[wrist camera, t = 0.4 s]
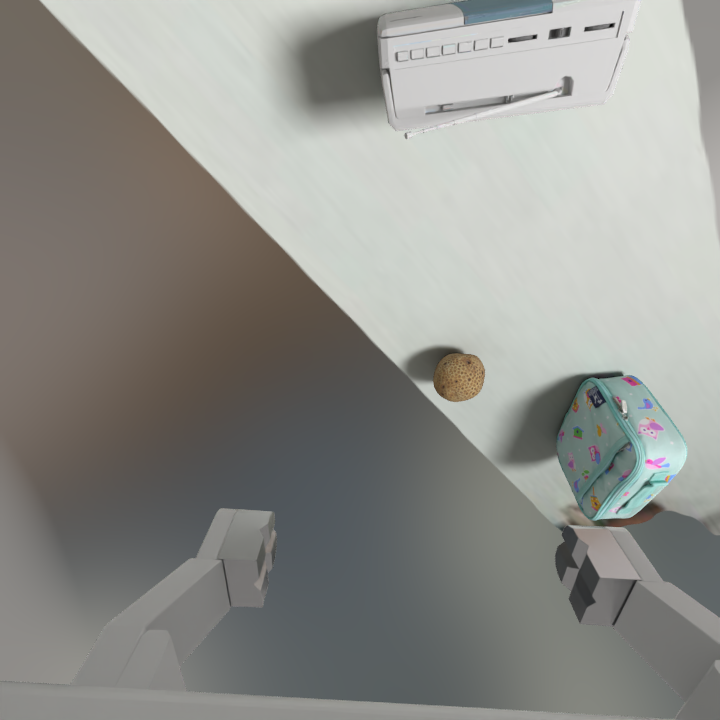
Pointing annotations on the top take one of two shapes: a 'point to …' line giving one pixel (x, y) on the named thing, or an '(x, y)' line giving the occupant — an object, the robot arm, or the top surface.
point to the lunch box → (618, 447)
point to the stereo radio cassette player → (500, 58)
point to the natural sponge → (459, 377)
